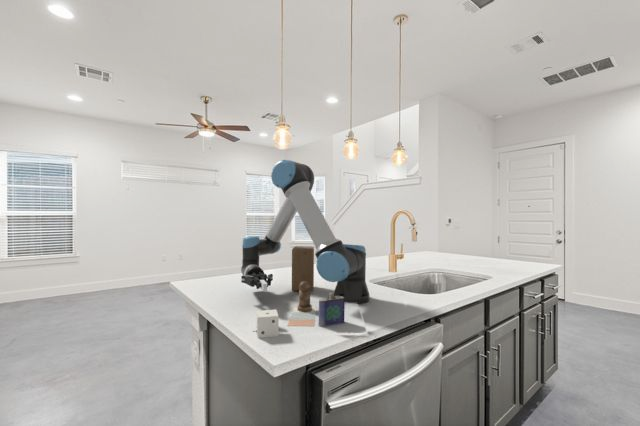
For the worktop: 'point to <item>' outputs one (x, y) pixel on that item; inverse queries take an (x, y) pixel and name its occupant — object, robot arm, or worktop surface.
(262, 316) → the white die
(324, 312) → the flask
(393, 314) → the worktop surface
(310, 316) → the board
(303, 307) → the pawn
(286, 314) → the worktop surface
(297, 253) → the wooden block
